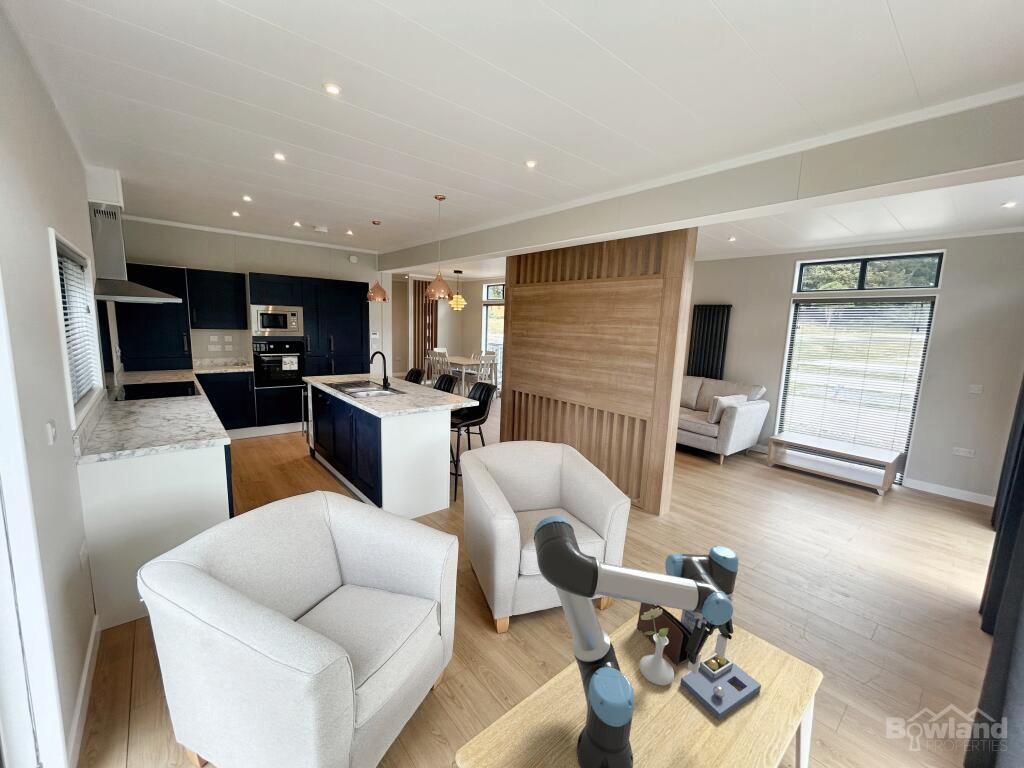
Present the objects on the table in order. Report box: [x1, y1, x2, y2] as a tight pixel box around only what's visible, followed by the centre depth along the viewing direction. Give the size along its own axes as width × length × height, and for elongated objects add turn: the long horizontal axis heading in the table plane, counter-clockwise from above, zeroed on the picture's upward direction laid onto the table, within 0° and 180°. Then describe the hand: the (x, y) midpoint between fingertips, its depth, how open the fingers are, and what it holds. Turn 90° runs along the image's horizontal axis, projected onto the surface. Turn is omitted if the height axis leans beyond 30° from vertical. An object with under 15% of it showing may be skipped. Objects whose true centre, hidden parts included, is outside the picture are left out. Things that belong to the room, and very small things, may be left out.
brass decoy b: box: [715, 655, 727, 667], centre depth 145 cm, size 4×4×4 cm
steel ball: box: [713, 686, 724, 698], centre depth 133 cm, size 3×3×3 cm
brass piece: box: [707, 659, 718, 672], centre depth 143 cm, size 4×4×4 cm
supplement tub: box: [680, 609, 708, 632], centre depth 165 cm, size 10×10×15 cm
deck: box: [679, 652, 762, 721], centre depth 139 cm, size 22×14×4 cm, turn 120°
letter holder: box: [636, 602, 692, 667], centre depth 156 cm, size 10×20×14 cm, turn 27°
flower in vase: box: [638, 608, 675, 686], centre depth 141 cm, size 13×11×25 cm
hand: (706, 662), depth 127 cm, fingers open, 12 cm apart
